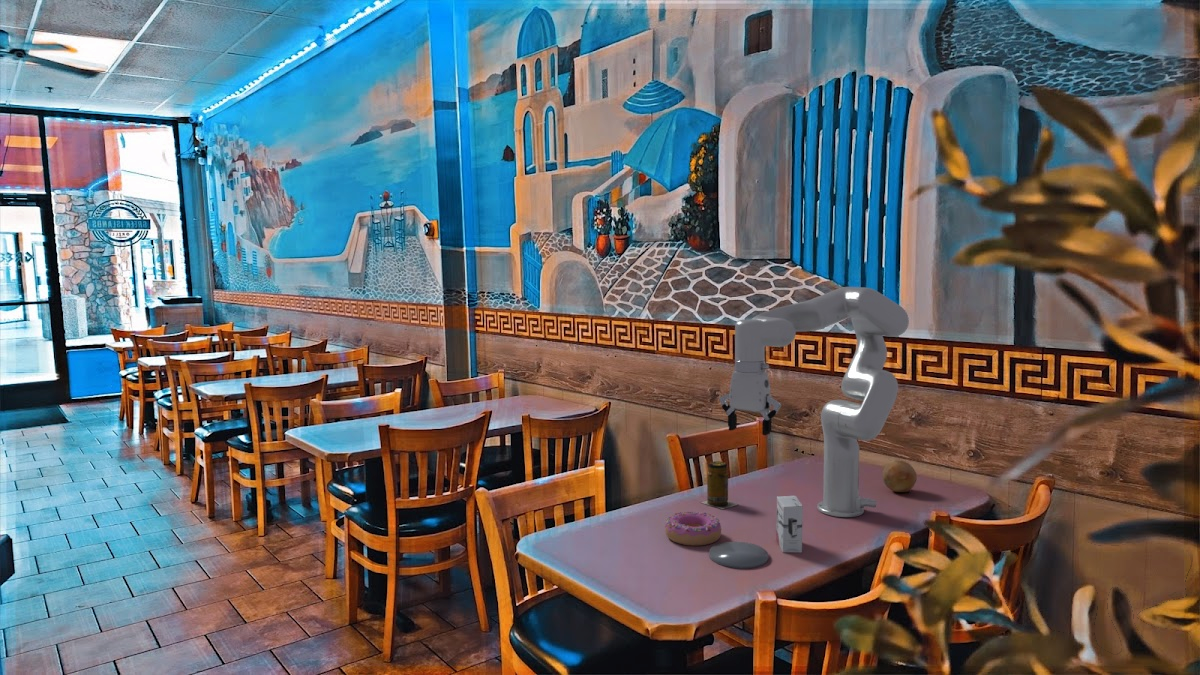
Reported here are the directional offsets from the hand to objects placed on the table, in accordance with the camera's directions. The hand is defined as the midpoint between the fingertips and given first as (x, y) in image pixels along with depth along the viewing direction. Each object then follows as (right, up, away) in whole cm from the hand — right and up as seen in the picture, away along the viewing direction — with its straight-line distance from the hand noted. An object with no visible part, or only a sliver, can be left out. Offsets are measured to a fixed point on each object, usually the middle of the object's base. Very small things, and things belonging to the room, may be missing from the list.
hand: (749, 431), depth 197 cm
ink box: (+8, -28, -9) cm, 30 cm away
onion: (+52, -23, +33) cm, 66 cm away
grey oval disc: (-6, -28, -15) cm, 33 cm away
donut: (-15, -27, -2) cm, 31 cm away
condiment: (-4, -24, +24) cm, 35 cm away
